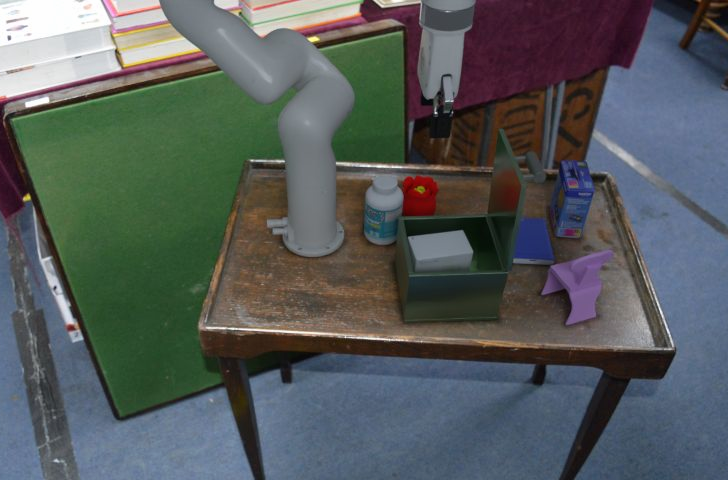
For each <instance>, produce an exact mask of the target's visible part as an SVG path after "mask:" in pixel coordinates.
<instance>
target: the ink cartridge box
mask: <svg viewBox="0 0 728 480" xmlns="http://www.w3.org/2000/svg"><path fill="white" fill-rule="evenodd" d="M593 181H594V180H593V179H592V176H591V172H590V169H589V165H588V162H587V161H585V160H573V159H572V158H571V160H560V163H559V168H558V172H557V176H556V180H555V182H554V183H555V184H554V187H553V192H552V196H551V198H550V202H549V207H548V208H549V214H550V219H551V224H552V227H553V228H552V230H553V234H554V237H558V238H569V239H581V238H582V237H583V233H584V229H585V226H586V222H587V219H588V216H589V212H590V209H591V206H592V202H593V198H594V196H595V191H596V188H595V185H594V182H593Z"/></svg>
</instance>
